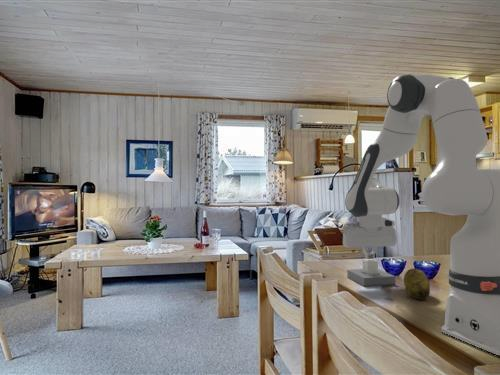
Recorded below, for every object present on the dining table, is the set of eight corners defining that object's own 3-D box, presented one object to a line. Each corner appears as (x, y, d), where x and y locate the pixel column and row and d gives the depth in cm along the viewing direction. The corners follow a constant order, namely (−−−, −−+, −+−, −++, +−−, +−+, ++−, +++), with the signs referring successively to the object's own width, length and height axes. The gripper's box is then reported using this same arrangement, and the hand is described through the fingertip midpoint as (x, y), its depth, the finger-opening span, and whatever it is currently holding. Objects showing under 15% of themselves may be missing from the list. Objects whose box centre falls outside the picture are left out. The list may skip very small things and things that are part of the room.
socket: (395, 284, 134) (395, 275, 134) (364, 286, 132) (363, 277, 132) (376, 275, 148) (375, 267, 148) (347, 277, 146) (347, 268, 146)
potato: (399, 299, 116) (399, 273, 116) (405, 289, 127) (405, 266, 127) (429, 303, 112) (428, 276, 112) (432, 292, 123) (432, 268, 123)
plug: (378, 280, 138) (377, 261, 138) (367, 281, 137) (367, 261, 137) (372, 277, 142) (372, 258, 142) (362, 278, 141) (362, 259, 141)
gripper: (346, 223, 135) (347, 261, 135) (398, 221, 138) (399, 259, 138) (339, 221, 141) (340, 258, 141) (389, 220, 145) (390, 256, 145)
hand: (369, 258), depth 140 cm, fingers closed
